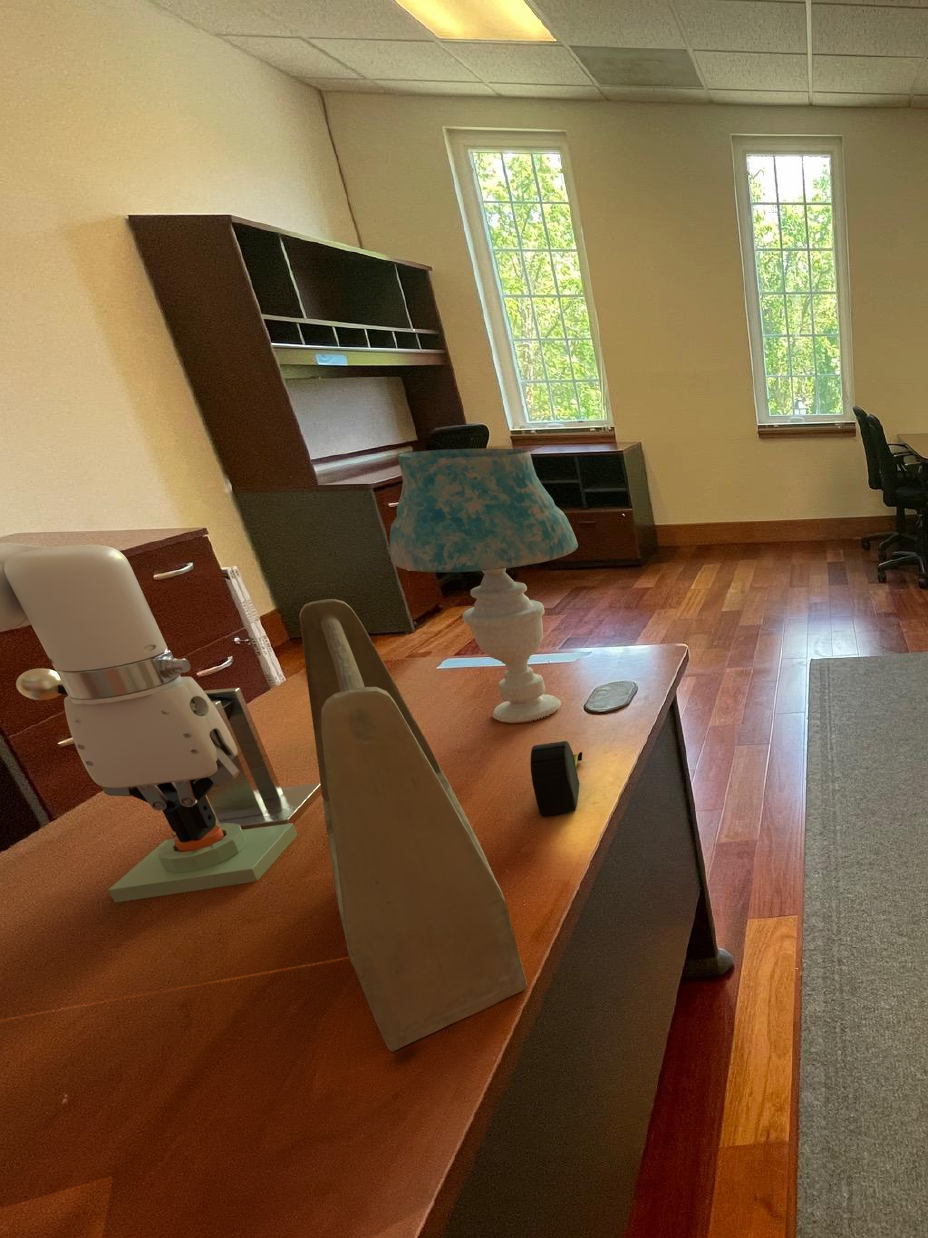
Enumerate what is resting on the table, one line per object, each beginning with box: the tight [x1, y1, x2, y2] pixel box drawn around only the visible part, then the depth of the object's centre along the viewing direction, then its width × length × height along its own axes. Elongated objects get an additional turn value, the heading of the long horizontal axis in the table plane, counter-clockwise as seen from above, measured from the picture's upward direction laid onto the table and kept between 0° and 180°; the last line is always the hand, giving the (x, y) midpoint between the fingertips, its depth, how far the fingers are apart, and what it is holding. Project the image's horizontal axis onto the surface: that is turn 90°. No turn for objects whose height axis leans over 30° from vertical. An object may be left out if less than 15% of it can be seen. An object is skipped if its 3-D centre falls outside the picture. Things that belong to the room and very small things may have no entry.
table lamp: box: [389, 447, 579, 724], centre depth 108 cm, size 24×24×40 cm
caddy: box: [299, 598, 528, 1053], centre depth 63 cm, size 29×11×30 cm, turn 41°
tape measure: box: [530, 740, 583, 817], centre depth 92 cm, size 15×4×8 cm, turn 21°
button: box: [174, 825, 224, 852], centre depth 77 cm, size 4×4×2 cm
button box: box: [108, 823, 298, 903], centre depth 77 cm, size 12×9×4 cm
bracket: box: [172, 687, 322, 838], centre depth 84 cm, size 11×9×16 cm
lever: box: [15, 667, 232, 721], centre depth 79 cm, size 17×3×3 cm, turn 107°
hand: (199, 833), depth 76 cm, fingers closed
